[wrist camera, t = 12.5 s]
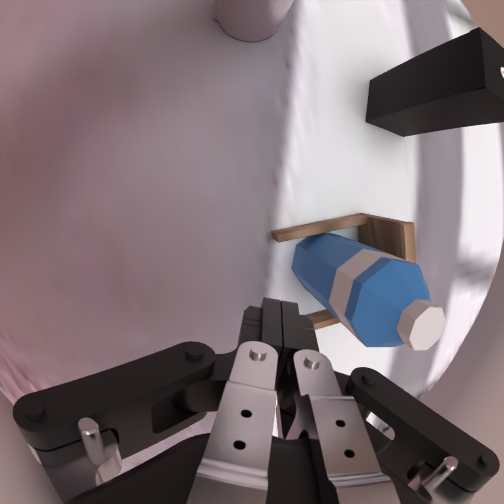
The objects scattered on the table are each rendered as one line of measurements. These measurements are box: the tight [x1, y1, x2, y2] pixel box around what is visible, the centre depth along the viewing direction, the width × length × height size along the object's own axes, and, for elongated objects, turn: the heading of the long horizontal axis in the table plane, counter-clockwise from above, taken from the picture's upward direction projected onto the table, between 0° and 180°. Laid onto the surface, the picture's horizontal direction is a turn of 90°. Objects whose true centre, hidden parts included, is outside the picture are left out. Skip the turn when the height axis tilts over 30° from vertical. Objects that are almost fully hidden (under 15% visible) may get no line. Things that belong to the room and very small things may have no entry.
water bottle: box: [292, 232, 446, 350], centre depth 34 cm, size 9×9×25 cm
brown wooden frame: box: [272, 213, 416, 330], centre depth 40 cm, size 15×15×13 cm
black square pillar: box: [366, 27, 504, 137], centre depth 29 cm, size 8×8×28 cm
